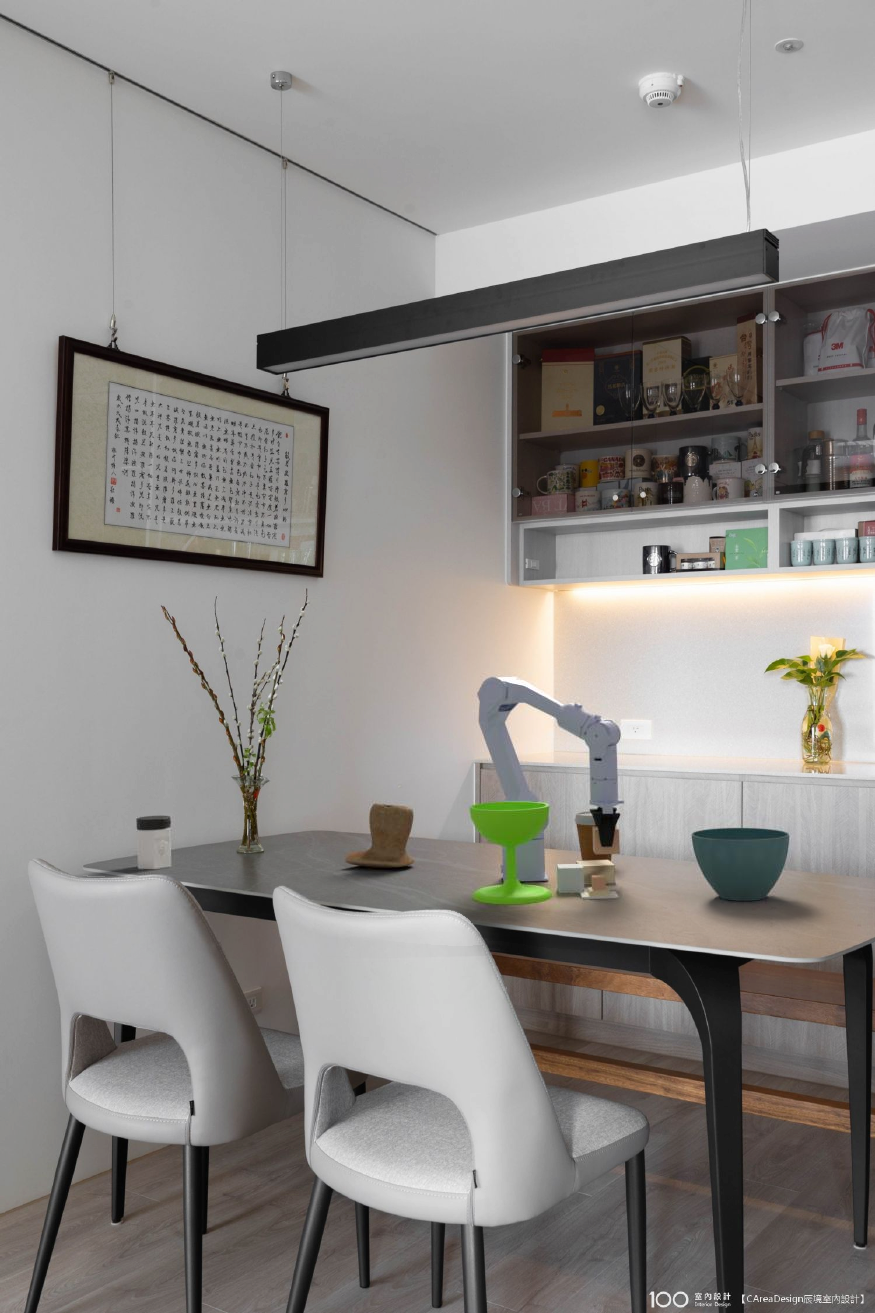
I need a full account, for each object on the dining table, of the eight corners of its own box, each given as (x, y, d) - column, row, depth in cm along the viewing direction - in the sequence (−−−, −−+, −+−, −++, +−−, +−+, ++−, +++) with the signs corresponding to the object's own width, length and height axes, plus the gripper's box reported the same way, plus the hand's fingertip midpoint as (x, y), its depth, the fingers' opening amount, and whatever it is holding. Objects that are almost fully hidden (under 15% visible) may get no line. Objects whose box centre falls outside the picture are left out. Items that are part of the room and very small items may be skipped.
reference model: (582, 899, 222) (581, 879, 222) (580, 894, 227) (579, 874, 227) (618, 898, 222) (617, 878, 222) (615, 893, 227) (614, 873, 227)
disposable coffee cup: (605, 871, 253) (603, 816, 253) (567, 868, 259) (566, 814, 259) (625, 864, 260) (623, 812, 261) (588, 861, 266) (587, 810, 266)
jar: (146, 871, 273) (145, 820, 273) (129, 867, 279) (128, 818, 279) (179, 865, 279) (178, 816, 279) (162, 862, 285) (161, 814, 285)
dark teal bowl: (675, 893, 225) (673, 831, 225) (752, 885, 231) (750, 824, 232) (730, 910, 208) (727, 842, 208) (812, 900, 214) (809, 835, 215)
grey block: (559, 893, 230) (558, 868, 230) (557, 888, 235) (556, 864, 235) (584, 892, 229) (583, 867, 229) (582, 888, 234) (581, 863, 234)
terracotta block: (595, 854, 234) (594, 829, 235) (593, 850, 239) (592, 826, 240) (619, 853, 234) (619, 829, 234) (617, 850, 239) (616, 826, 239)
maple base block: (582, 885, 238) (581, 866, 238) (576, 879, 245) (575, 861, 245) (615, 884, 238) (614, 865, 238) (608, 878, 245) (608, 859, 245)
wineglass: (503, 886, 239) (500, 800, 239) (568, 893, 229) (565, 803, 229) (455, 899, 226) (452, 808, 227) (521, 907, 216) (518, 812, 216)
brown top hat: (425, 864, 270) (423, 800, 270) (399, 872, 260) (396, 806, 260) (371, 861, 277) (369, 799, 278) (343, 869, 267) (341, 804, 267)
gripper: (627, 782, 230) (629, 849, 229) (619, 775, 244) (621, 839, 244) (591, 782, 230) (593, 850, 230) (586, 776, 244) (587, 839, 244)
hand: (605, 844), depth 237 cm, fingers closed on terracotta block, 5 cm apart
